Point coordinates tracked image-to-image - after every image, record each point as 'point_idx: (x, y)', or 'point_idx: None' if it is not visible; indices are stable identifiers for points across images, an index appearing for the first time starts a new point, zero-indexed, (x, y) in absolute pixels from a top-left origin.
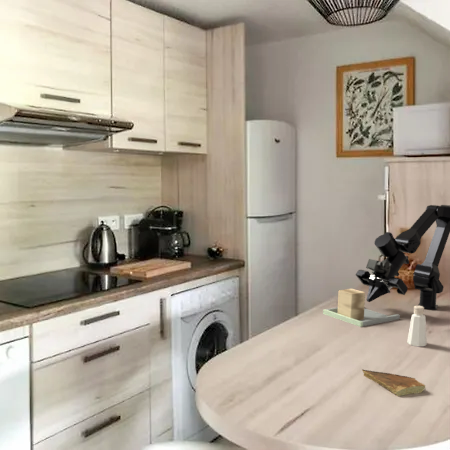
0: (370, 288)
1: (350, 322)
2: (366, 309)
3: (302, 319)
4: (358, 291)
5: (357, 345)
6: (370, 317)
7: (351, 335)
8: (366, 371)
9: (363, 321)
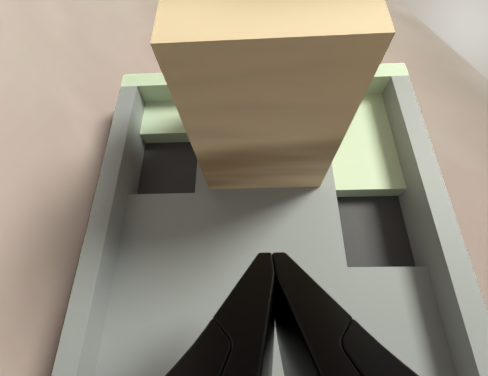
0: (352, 359)
1: None
2: None
3: None
4: (222, 9)
5: (52, 8)
6: (214, 254)
7: (125, 46)
8: None
9: (123, 93)
